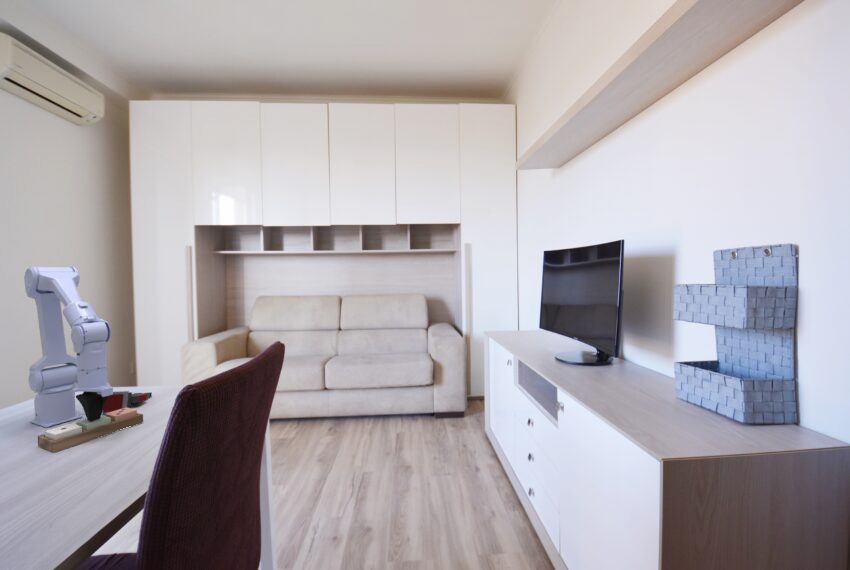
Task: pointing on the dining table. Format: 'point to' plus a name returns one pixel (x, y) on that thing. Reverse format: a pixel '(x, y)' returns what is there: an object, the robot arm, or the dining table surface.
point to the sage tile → (94, 423)
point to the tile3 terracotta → (121, 414)
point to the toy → (123, 400)
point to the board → (87, 434)
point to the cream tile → (63, 431)
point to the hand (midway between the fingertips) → (94, 419)
